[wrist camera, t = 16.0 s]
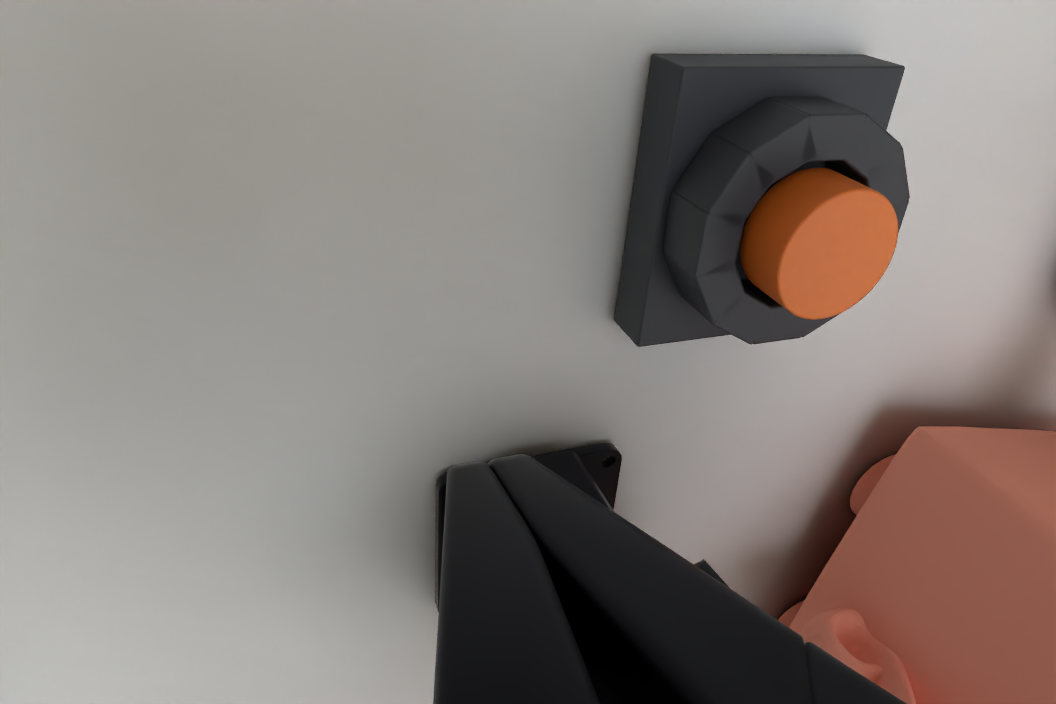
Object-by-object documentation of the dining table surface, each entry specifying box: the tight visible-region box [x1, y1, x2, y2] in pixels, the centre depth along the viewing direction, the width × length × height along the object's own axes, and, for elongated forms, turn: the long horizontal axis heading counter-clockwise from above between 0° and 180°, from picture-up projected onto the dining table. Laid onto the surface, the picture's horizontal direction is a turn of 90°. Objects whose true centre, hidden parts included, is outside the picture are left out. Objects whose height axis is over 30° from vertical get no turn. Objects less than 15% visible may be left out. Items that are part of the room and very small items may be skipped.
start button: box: [740, 168, 898, 320], centre depth 20 cm, size 4×4×2 cm
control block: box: [614, 54, 910, 347], centre depth 22 cm, size 8×7×4 cm
